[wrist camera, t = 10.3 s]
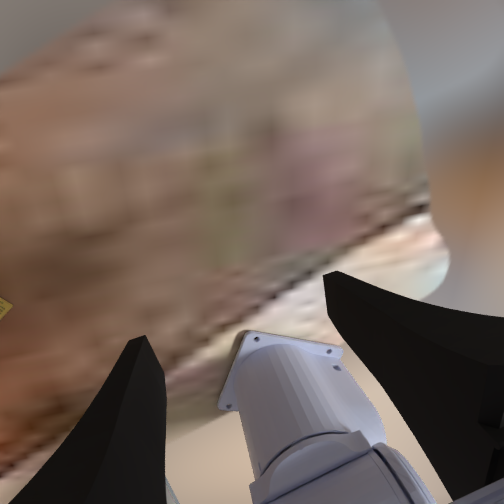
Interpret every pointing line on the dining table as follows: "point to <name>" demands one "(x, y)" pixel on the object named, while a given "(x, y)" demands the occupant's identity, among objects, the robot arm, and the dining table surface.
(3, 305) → the candy box
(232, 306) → the dining table surface
